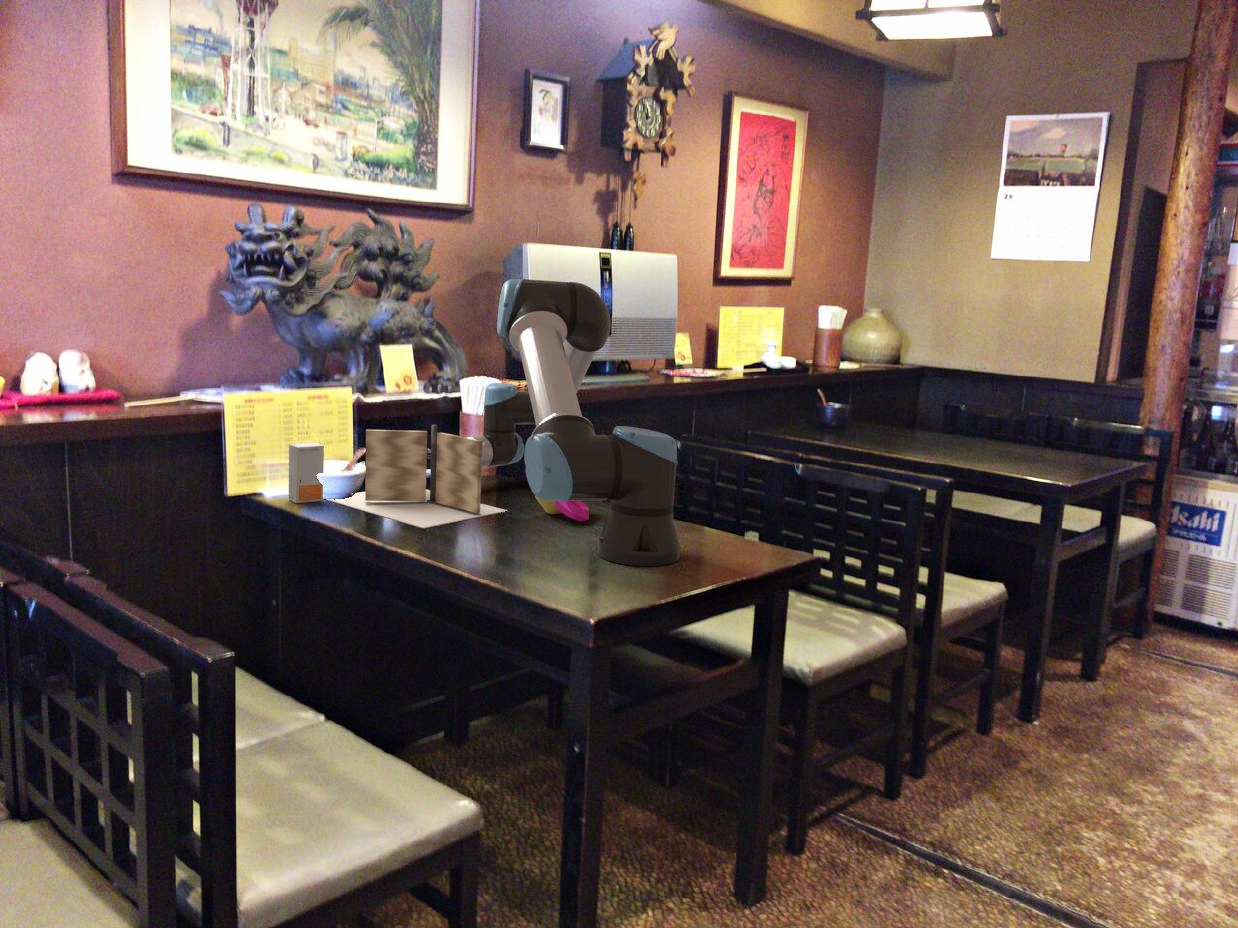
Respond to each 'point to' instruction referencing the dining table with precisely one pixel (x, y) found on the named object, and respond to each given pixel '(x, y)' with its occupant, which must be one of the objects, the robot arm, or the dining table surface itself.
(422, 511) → the card
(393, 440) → the fence gate
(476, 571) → the dining table surface
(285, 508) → the dining table surface
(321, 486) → the skincare box
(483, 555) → the dining table surface
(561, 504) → the toy
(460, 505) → the panel
